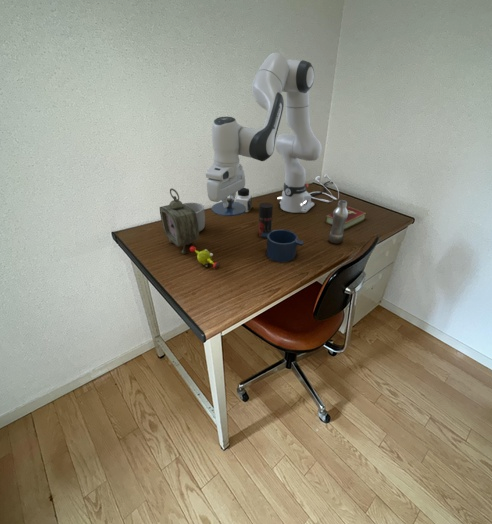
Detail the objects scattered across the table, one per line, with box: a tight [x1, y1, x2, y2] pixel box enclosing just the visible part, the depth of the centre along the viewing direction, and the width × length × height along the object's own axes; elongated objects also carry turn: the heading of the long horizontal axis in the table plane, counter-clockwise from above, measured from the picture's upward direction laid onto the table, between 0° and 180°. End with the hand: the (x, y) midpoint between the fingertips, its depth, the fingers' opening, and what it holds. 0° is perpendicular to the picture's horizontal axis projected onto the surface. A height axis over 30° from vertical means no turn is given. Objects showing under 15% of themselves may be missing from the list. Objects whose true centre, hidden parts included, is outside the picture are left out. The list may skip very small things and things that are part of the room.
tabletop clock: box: [159, 188, 200, 255], centre depth 107 cm, size 14×9×25 cm, turn 45°
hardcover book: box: [325, 206, 367, 231], centre depth 145 cm, size 12×21×4 cm, turn 136°
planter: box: [182, 202, 206, 233], centre depth 124 cm, size 12×12×11 cm
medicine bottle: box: [234, 186, 253, 213], centre depth 146 cm, size 7×7×12 cm
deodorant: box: [258, 202, 274, 238], centre depth 123 cm, size 6×6×15 cm
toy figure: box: [188, 245, 221, 270], centre depth 101 cm, size 18×6×7 cm, turn 48°
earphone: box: [308, 173, 340, 204], centre depth 172 cm, size 14×17×18 cm
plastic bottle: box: [328, 199, 348, 245], centre depth 121 cm, size 6×7×20 cm
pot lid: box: [211, 197, 246, 217], centre depth 103 cm, size 13×13×5 cm
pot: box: [260, 229, 305, 263], centre depth 112 cm, size 12×18×8 cm
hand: (228, 205), depth 103 cm, fingers closed on pot lid, 2 cm apart
